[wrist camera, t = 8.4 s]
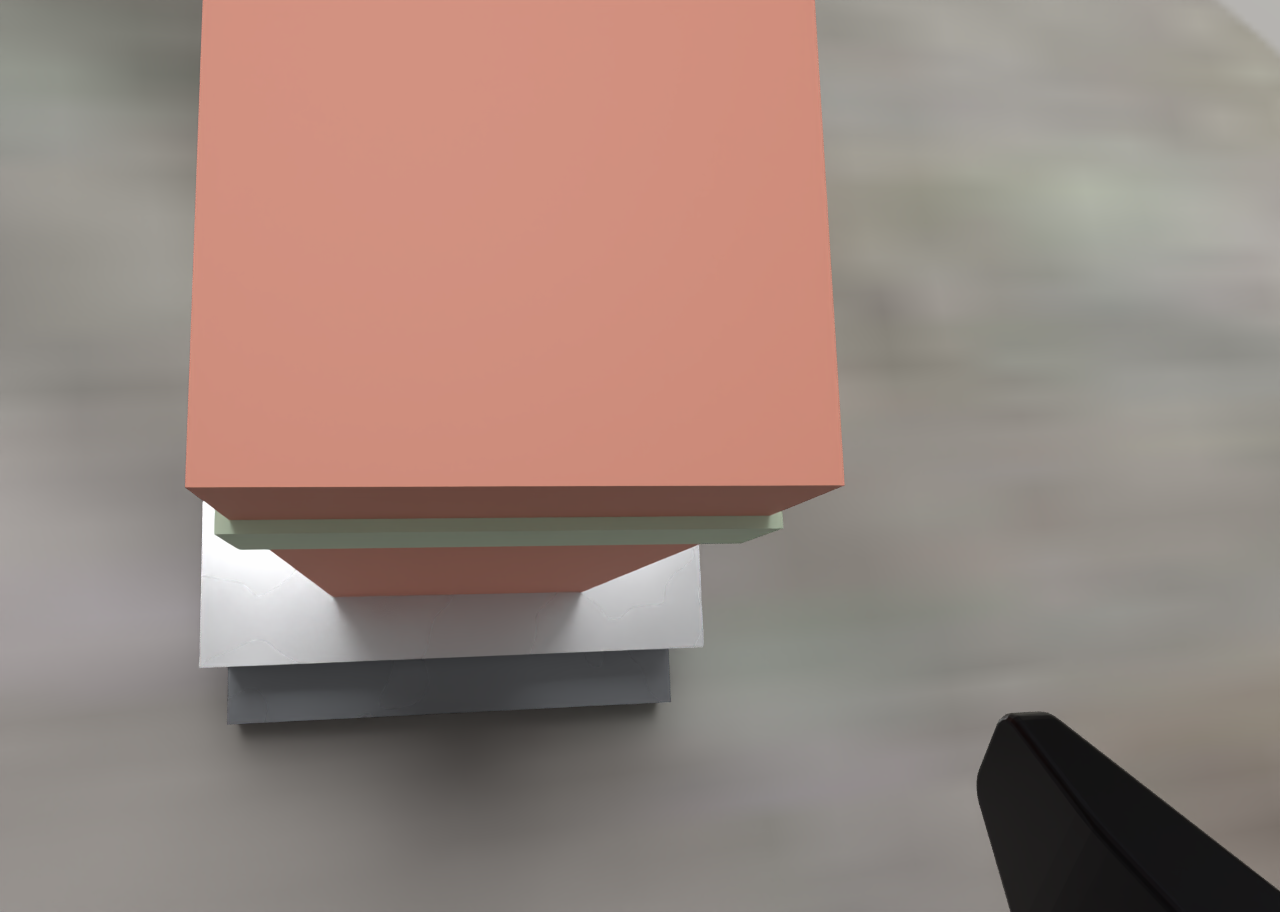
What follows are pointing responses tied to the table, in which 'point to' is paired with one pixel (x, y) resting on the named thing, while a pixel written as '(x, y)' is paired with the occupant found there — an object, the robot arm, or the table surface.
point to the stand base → (445, 690)
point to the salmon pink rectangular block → (508, 286)
